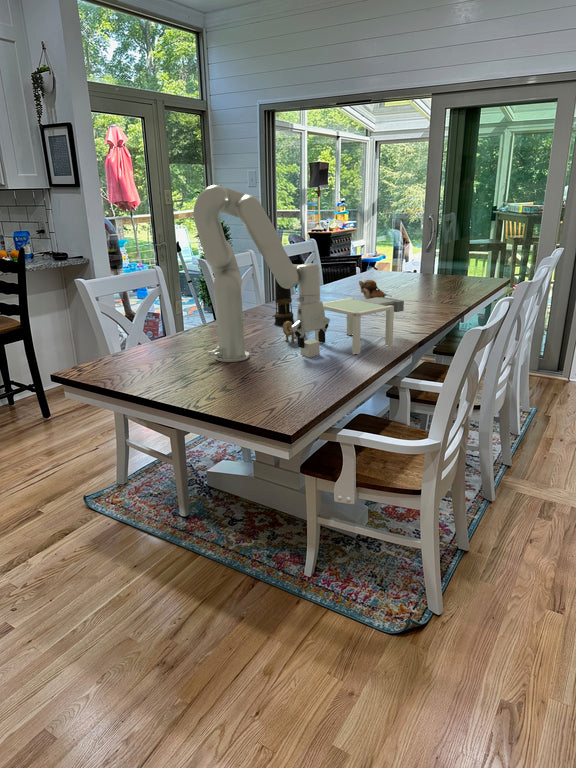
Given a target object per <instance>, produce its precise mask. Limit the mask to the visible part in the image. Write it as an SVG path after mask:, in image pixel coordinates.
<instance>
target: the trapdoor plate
mask: <svg viewBox="0 0 576 768" xmlns="http://www.w3.org/2000/svg"><path fill="white" fill-rule="evenodd" d="M324 305H328V306H333V307H337V308H342V309H346V310H351V311H355V312H359V311H364V310H369V309H374V308H379V307H384V306H389V305H391V306H394V313H399V312H400V313H401V312H404V309H405V306H404V305H405V301H404V300H401V299H395V298H392V297H386V296H385V297H379V298H378V297H376V298H371V299H365V298H364V299H361V300H360V299H359V300H358V299H355V298H354V299H348V300H343V301H337V302H332V303H326V304H324Z"/></svg>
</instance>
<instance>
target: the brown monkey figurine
mask: <svg viewBox="0 0 576 768" xmlns="http://www.w3.org/2000/svg"><path fill="white" fill-rule="evenodd" d="M358 284H359V287H360V293H363V296H364V300H365V299H371V298H376V297H378V298H379V297H385V298H386V296H388V297H389V298H392V297H393V296H392V295H390V294H387V293H385V292H384V291H383V290H381V289H380V288H379V287H378V286H377V282H376V281H375V280H373V279H366V280H364V281H362V280H359V281H358Z"/></svg>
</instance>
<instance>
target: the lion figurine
mask: <svg viewBox="0 0 576 768" xmlns="http://www.w3.org/2000/svg"><path fill="white" fill-rule="evenodd" d="M293 325H294V324H293ZM293 325H292V322H290V321H286V322H285V323H284V324H283V326H282V331H283V334H284V335H285V342H286V343H287V342H289V336H291V339H290V340H291V341H290V342H291V343H294V342H295V339H297V337H296V335H295V334H294V333H293V331H292V329H291V326H293ZM297 331H298V327H297ZM301 332H302V331H301ZM306 335H307V334H306V333H305V334H304V336H303V338H304V339H305V338H306V337H307V336H306Z"/></svg>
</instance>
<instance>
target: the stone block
mask: <svg viewBox="0 0 576 768" xmlns="http://www.w3.org/2000/svg"><path fill="white" fill-rule="evenodd" d="M304 343H305V348H300V355H302V356H305V357H307V358H312V357H316V356H315V355H317V356H319V355H318V354H320V350H321V349H320V344H321V343H320V342H318V341H315V339H306V340H304Z"/></svg>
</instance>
